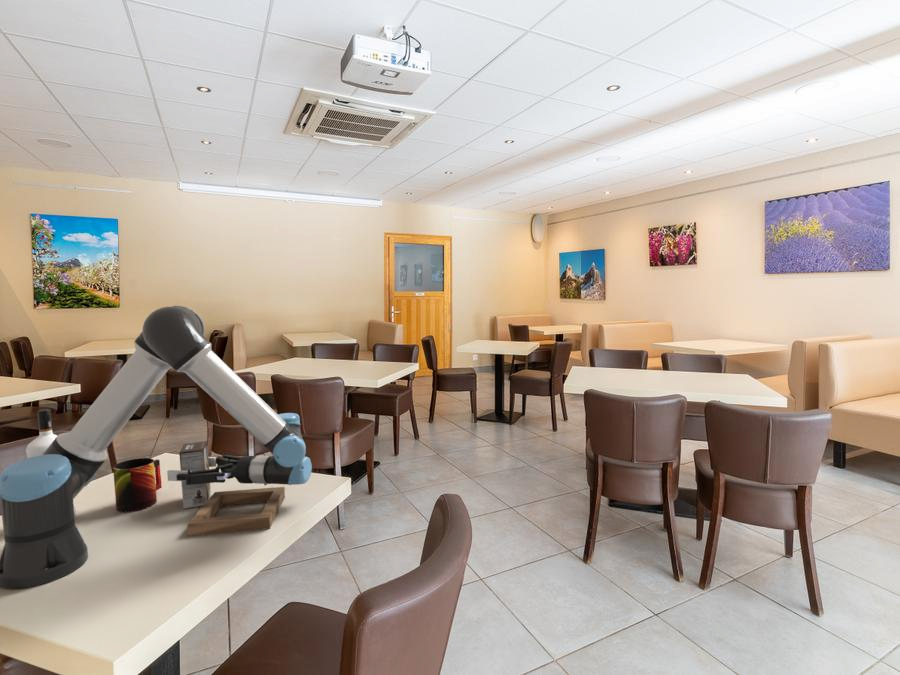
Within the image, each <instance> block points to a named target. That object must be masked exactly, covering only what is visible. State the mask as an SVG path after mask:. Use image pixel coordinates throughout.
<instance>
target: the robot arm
mask: <svg viewBox="0 0 900 675" xmlns="http://www.w3.org/2000/svg"><path fill="white" fill-rule="evenodd" d="M204 329H205V328H204V323H203V321H202V318H201V317H200V316H199V314H197V313H196V312H195V311H194V310H192V309H190V308H188V307H186V306H183V305H172V306H163V307H160V308H157V309H155V310H154V311H152V312H151V313H150V314H149V315H148V316H147V317H146V318H145V320H144V323H143V325H142V331H141V332H140V333H139V335H137V337H136V338H135V340H134V341H133V344H134V348H135V351H134V352H133V353H132V354H131V356H130V357H129V358H128V359H127V361H126V362H125V363H124V364H123V366H122V367H121V368H120V369H119V370H118V372H117V373H116V374H115V376H113V378H112V379H111V381H110V382H109V383H108V384H107V385H106V386H105V387H104V388H103V390H102V391H101V393H100V394H99V395H98V396H97V398H96V399H95V400H94V401H93V403H92V404H90V406H89V408H88V409H87V410H86V411H85V413H84V414H83V415H82V417H80V419H79V420H78V421H77V423H76V424H75V425H74V426H73V427H72V428H71V430H70V431H68V432H63V433H59V434H57V437H56V438H55V440H54V441H53V442H52V443H51V445H50V446H49V447H48V448H47V449H46V451H45V452H44V453H43V454H42V455H40V456H34V457H30V458H27V457H26V458H24V459H22V460H21V461H16V462H14V463H12V464H10V465H8V466H7V467H6V468H4V470H2V472H1V473H0V510H1V520H2V527H3V537H4V545H3V548H2V552H1V555H0V588H2V589H8V588H10V589H14V590H15V589H25V588H29V587H30V588H31V587H34V586H38V585H39V586H40V585H43V584H45V583H46V584H47V583H49V582H52V581H55V580H57V579H60V578H62V577H64V576H66V575H69V574H71V573H72V572H75V571H76V570H78V569H79V568H80V567H81V566H84V564H85V563H86V562H87V560H88V558H89V550H88V546H87V543H86V542H85V541H84V538H83V536H82V534H81V533H80V531H79V529H78V527H77V526H76V520H75V518H76V515H75V516H74V507H75V505H74V504H75V503H74V499H75V498H76V497H77V495H78V494H80V493H81V491H82V490H83V489H85V487H87V486H88V485H89V484H90V483H91V482H92V481H93V479H94V478H95V476H96V473H97V472H98V470H99V469H100V468H101V467H102V465H103V464H104V463H105V462H106V460H107V459H108V456H109V455H108V453H107V448H108V447H109V446H110V444H111V443H112V442H113V440H114V439H115V438H116V437H117V436H118V434H119V433H120V431H121V430H122V429H123V428H124V426H126V424H127V423H128V422H129V420H130V419H131V418H132V417H133V415H134V414H135V413H136V411H137V410H138V409H139V408H140V407H141V405H142V404H143V402H144V401H145V400H146V399H147V397H148V396H149V395H150V394H151V392H152V391H153V390H154V389H155V388H156V386H157V384H159V382H160V381H161V379H163V377H164V376H165V375H166V373H167V372H168V371H169V370H171V369H174V371H176V372H177V373H185V374H186V375H187V376H188V377H189V378H190V379H191V380H192V381H194V382H195V383H196V384H197V385H198V386H199V387H200V388H201V389H202V390H203V391H204V392H205V393H207V394H208V395H209V396H210V397H211V398H212V399H213V400H214V401H215V402H217V404H218V405H220V407H222V409H224V410H225V412H227V413H228V414H229V415H230V416H231V417H233V419H234V420H236V421H237V422H238V423H239V425H241V426H242V427H243V428H244V429H245V430H246V431H247V432H248V433H249V434H251V436H253V437H254V438H255V439H256V440H257V441H259V443H261V445H263V447H264V448H266V450H268V452H270V453H271V454H272V455H243V456H237V455H233V454H232V455H231V454H223V455H222V456H208V457H209V469H208V470H202V471H195V472H191V471H190V470H188V471H184V470H181V469H179V470H175V469H173V470H172V469H168V470H167V471H166V474H167V482H181V481H186V485H194V484H205V483H210V484H215V483H219V484H220V483H223V484H224V483H225V482H226V479H227V480H231V479H234V478H235V479H236V481H237V482H239V483H240V484H263V485H264V486H267V485H289V486H291V485H305V484H306V483H307V482H308V481H309V480H310V477H311V476H312V470H313V469H312V468H313V466H312V462H311V461H312V460H311V459H310V457H308V456H306V452H307V450H306V443H305V441H304V439H303V434H302V433H301V423H300V422H301V420H300V415H299V414H298V413H294V412H285V413H279V414H278V413H277V412H276V411H275V410H273V408H271V407H270V405H269V404H268V403H266V402H265V400H263V398H261V396H259V395H258V394H257V393H256V391H254V390H253V389H252V388H251V387H250V386H249V385H248V384H247V383H246V382H245V381H244V380H243V379H242V378H241V377H240V376H239V375H238V374H237V373H236V372H235V371H234V370H233V369H231V368H230V367H229V366H228V365H227V363H225V362H224V361H223V360H222V359H221V358H220V357H219V356H218V354H216V353H215V352H214V351H213V350H212V343H211V341H209V340H208V339H207V337H206V336H205V335H204V332H205V330H204ZM210 468H211V469H210Z"/></svg>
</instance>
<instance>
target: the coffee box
mask: <svg viewBox="0 0 900 675" xmlns="http://www.w3.org/2000/svg"><path fill="white" fill-rule="evenodd" d="M208 442H209V441H208V440H205V441H196V442H190V443H189V442H188V443H184V444H183V445H182V448H181V449H180V451H179V452H178V453H179V467H180V470H184V471H188V470H190V471H191V472H195V471H202V470H208V469H210V467H209V457H210V456H209V445H208ZM180 482H181V492H182V495H181V496H182V504H183V505H182V507H183V509H189V508H196V507H203V505H204V504H205V503H206V502H207V501H208V500H209V498H210V497H211V496H212V495H211V494H212V489H211V483H205V484H194V485H186V481H180Z"/></svg>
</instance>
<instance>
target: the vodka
mask: <svg viewBox="0 0 900 675" xmlns="http://www.w3.org/2000/svg"><path fill="white" fill-rule="evenodd" d="M51 416H52V413H51V409H49V408H48V409H47V408H45V409H40V410H37V419H38V421H37V422H38V431H39V435H38V436H37V437H36V438H34V439H33V440H32V441H31V442H29V443H28V444H27V446H26V448H25V452H26V456H27V457H26V459H27V458H30V457H34V456H40V455H42V454H43V453H44V452H45V451H46V449H47V448H48V447H49V446H50V445H51V443H52V442H53V441H54V440H55V438H56V437H57V436H58V434H54V432H53V425H52V417H51ZM76 515H77V510H76V507H75V506H74V516H75V517H76Z"/></svg>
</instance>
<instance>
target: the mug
mask: <svg viewBox="0 0 900 675" xmlns="http://www.w3.org/2000/svg"><path fill="white" fill-rule="evenodd" d="M160 462H161V461H160V459H153V458H150V457H141V458H132V459H128V460H124V461H121V462H119V463H115V465H113V467H112V470H113V483H114V496H115V498H114V499H115V508H116V509H115V510H116V512H119V513H125V514H126V513H134V512H139V511H142V510H147V509H148V508H150V507H152V506H154V505H156V503H157V501H158V499H157V491H159V490H161V489H162V487H163V486H162V475H161V463H160Z"/></svg>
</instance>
